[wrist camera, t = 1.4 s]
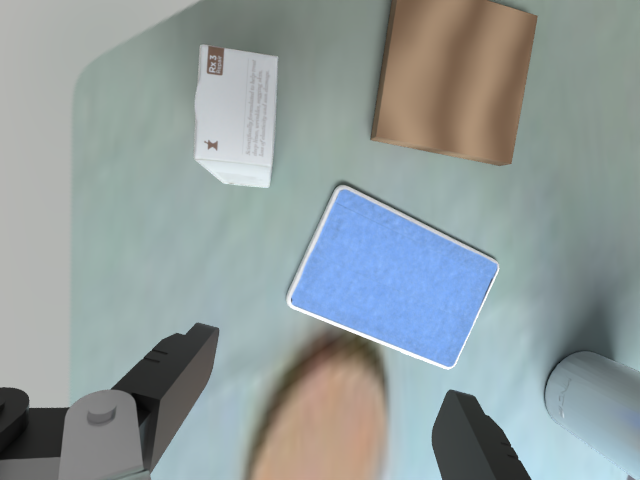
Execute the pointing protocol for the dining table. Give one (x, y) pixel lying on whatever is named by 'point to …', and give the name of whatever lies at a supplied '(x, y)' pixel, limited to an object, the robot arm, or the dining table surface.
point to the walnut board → (454, 78)
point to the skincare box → (236, 115)
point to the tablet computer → (392, 279)
